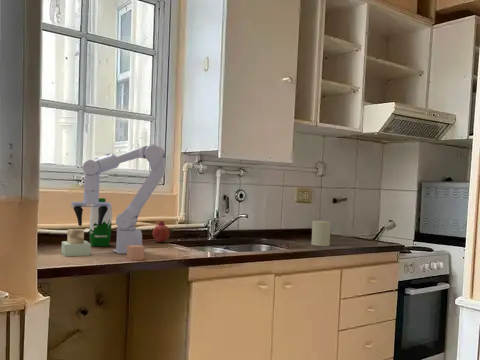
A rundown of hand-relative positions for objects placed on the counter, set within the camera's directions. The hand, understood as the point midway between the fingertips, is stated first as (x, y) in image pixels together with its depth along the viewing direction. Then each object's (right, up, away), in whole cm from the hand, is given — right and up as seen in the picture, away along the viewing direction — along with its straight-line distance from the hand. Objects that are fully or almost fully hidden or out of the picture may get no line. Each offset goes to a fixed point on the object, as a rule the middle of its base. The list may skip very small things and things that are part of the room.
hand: (89, 225), depth 181 cm
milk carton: (-1, -10, +15) cm, 18 cm away
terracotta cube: (+21, -11, -15) cm, 28 cm away
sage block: (-3, -10, -8) cm, 13 cm away
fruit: (+22, -11, +33) cm, 41 cm away
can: (+99, -15, +48) cm, 111 cm away
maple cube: (-3, -6, -8) cm, 10 cm away
